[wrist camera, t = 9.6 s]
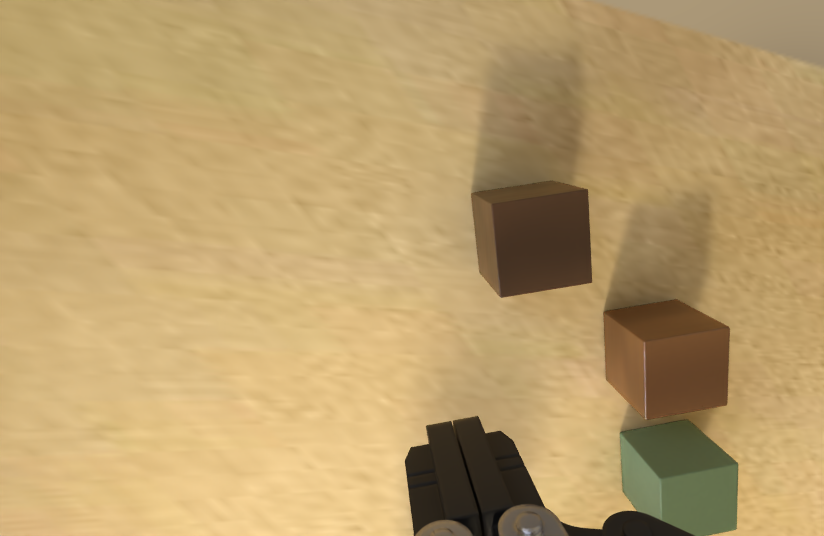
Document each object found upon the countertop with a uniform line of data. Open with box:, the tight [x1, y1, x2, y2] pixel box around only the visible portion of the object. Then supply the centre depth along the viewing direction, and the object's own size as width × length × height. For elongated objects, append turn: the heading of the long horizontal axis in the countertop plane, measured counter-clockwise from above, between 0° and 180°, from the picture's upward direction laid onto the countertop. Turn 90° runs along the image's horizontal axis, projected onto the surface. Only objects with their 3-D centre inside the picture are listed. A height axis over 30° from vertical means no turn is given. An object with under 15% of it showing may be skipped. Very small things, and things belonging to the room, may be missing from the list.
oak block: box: [604, 300, 730, 420], centre depth 28 cm, size 4×4×4 cm
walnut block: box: [471, 181, 592, 298], centre depth 25 cm, size 4×4×4 cm
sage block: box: [620, 420, 738, 536], centre depth 30 cm, size 4×4×4 cm
